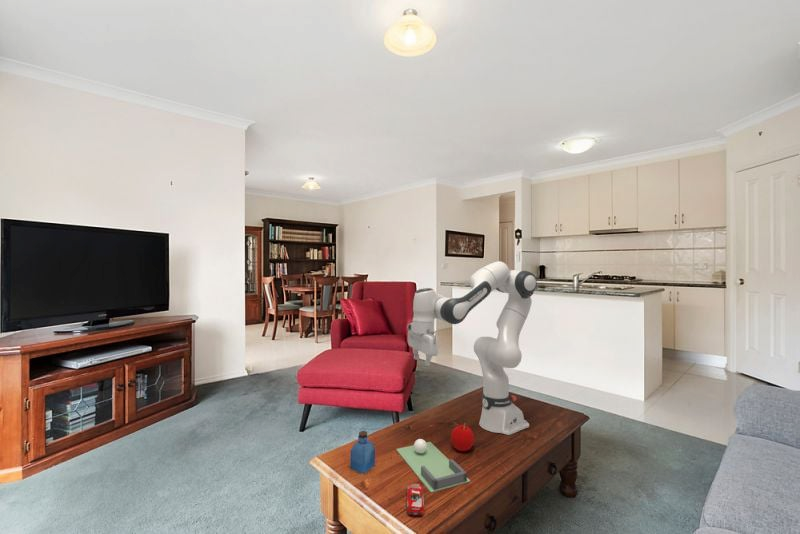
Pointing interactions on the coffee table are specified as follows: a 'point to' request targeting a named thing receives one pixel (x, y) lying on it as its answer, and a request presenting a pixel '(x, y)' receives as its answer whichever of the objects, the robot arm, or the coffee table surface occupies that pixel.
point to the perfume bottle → (362, 454)
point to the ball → (420, 446)
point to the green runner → (428, 463)
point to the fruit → (462, 438)
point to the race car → (415, 499)
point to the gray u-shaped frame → (446, 480)
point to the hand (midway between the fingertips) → (421, 362)
